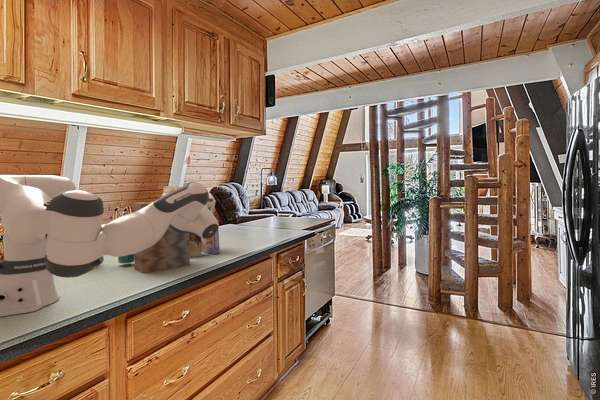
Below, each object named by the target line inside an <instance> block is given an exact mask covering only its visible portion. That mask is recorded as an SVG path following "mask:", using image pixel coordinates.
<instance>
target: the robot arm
mask: <svg viewBox="0 0 600 400" xmlns="http://www.w3.org/2000/svg"><path fill="white" fill-rule="evenodd" d="M181 187H182V188H180V189H179V188H175V190H174V191H173V192H171V193H164V192H163V193H162V194H161V196H160V197H159V198H157V199H156V200H155V199H154V200H153V201H151V202H152V203H151V204H149V205H148V206H146V207H144V208H142V209H140V210H138V211H136V212H133V211H132V212H130V213H127V214H124V215H122V216H119V217H117V218H115V219H112V220H111V221H109V222H107V223H103V214H104V210H105V209H104V202H103V199H102V198H101V197H100V196H99V195H97V194H95V193H92V192H89V191H86V190H80V189H77V186H76V184H75V182H74V181H73V180H72V179H70V178H69V177H65V176H59V175H53V174H0V220H1V224H2V228H3V229H4V231H5V232H4V233H3V236H2V242H3V243H2V244H3V259H0V317H5V316H6V317H7V316H14V315H19V314H25V313H32V312H36V311H38V310H40V309H41V308H44V307H46V306H48V305H51V304H53V303H55V302H57V301H58V300H59V299H60V296H59V293H58V291H57V289H56V284H55V280H54V276H55V277H58V278H67V279H68V278H77V277H80V276H83V275H86V274H87V273H89V272H91V271H92V270H93V269H94V268H96V267H95V266H97V267H100V265H102V264H103V262H104V260H105V258H104V256H111V257H117V258H118V257H120V256H126V255H131V254H134V253H138V252H140V251H143V250H145V249H147V248H150V247H151V246H153V245H154V244H155V243H157V242H158V241H159V240H160V239H161V238H162V236H163V235H164V233H165V232H166V230H167V228H168V227H169V226H170V228H171V229H172V230H174V231H176V232H178V233H195V234H197V235H198V236H200V237H201V238H203V239H209V238H211V237H213V236H214V235H215V234H216V232H217V231H218V230H220V229H219V228H220V225H219V220H218V221H217V219H218V218H217V217H216V216H215V215H214V214H213V212H214V210H215V207H216V206H215V205H216V202H217V201H216V199H215V198H214V196H213V195H212V193H211V192H209V191H208V189H207V188H206V186H204V185H203V184H201V183H199V182H195V181H191V182H187V183H183V184H182V186H181Z"/></svg>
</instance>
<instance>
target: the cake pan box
mask: <svg viewBox="0 0 600 400" xmlns="http://www.w3.org/2000/svg"><path fill="white" fill-rule="evenodd" d="M216 219H217V221H218V222H219V219H218V218H216ZM219 231H220V229H218V231H217V232H216V234H215V235H214V236H213V237H211V238H209V239H203V238H201V246H202V253H205V254H206V253H207V254H210V255H211V254H212V255H216V254H220V252H221V251H220V234H219Z"/></svg>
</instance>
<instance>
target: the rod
mask: <svg viewBox="0 0 600 400" xmlns="http://www.w3.org/2000/svg"><path fill="white" fill-rule="evenodd" d="M175 188H179V189H180V188H182V186H173V185H172V186H169V185H166V186H163V193H171V192H173V191H174V190H175Z"/></svg>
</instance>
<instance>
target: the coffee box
mask: <svg viewBox="0 0 600 400" xmlns="http://www.w3.org/2000/svg"><path fill="white" fill-rule="evenodd" d="M189 246H190V258H196V257H198V258H199V257H202V256H203V252H202V246H201V237H200V236H198V235H197V234H195V233H189Z"/></svg>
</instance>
